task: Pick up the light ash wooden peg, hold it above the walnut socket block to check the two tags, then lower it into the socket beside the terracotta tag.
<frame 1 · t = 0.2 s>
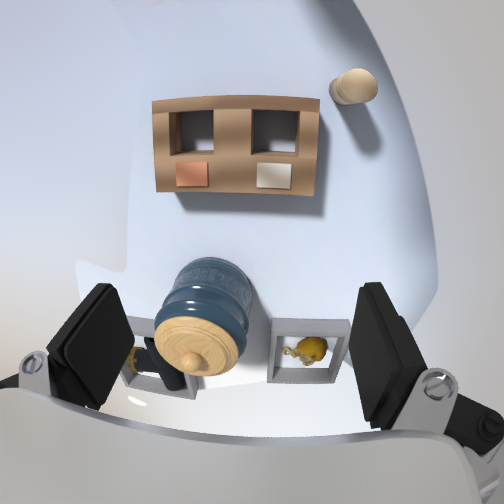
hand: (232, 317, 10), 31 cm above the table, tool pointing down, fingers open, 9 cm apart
pipe connector: (156, 352, 57), on the table
fruit corral: (305, 347, 52), on the table
socket block: (237, 140, 36), on the table
canister: (214, 288, 47), on the table
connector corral: (153, 353, 57), on the table
peg: (343, 91, 31), on the table
fruit: (303, 347, 53), on the table
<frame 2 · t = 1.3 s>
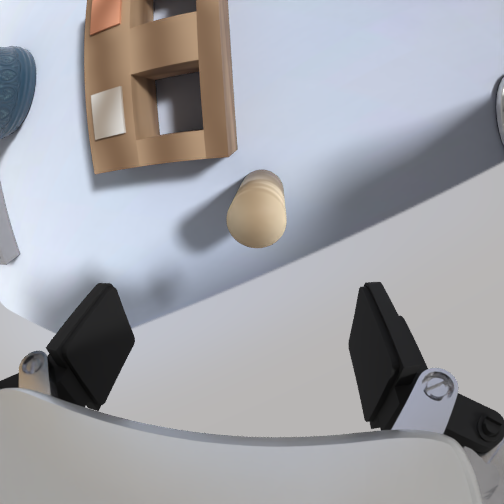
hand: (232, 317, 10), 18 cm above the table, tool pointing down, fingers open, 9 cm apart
socket block: (166, 56, 20), on the table
canister: (11, 91, 21), on the table
peg: (261, 190, 26), on the table
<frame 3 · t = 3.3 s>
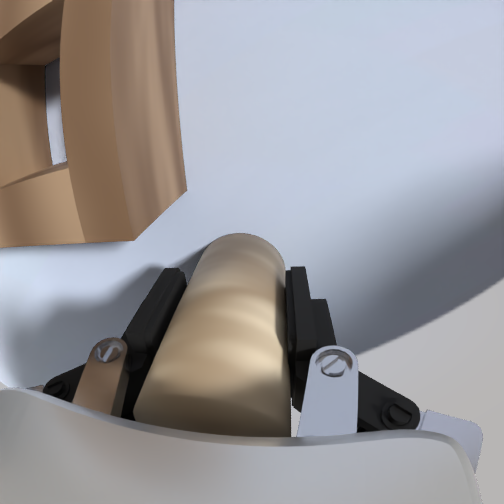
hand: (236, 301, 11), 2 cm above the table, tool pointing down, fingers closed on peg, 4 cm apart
socket block: (64, 20, 7), on the table
peg: (241, 273, 13), on the table, touching gripper
when the fingers open (6 cm above the table, at t = 10.7 s): peg drops 4 cm, on the table.
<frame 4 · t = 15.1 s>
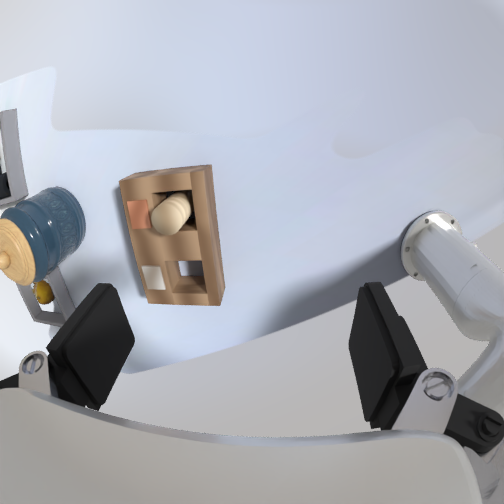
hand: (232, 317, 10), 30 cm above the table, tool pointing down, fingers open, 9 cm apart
pipe connector: (0, 171, 39), on the table
fruit corral: (48, 292, 51), on the table
socket block: (180, 232, 42), on the table
canister: (62, 218, 43), on the table
peg: (185, 200, 40), on the table
fruit: (41, 284, 51), on the table
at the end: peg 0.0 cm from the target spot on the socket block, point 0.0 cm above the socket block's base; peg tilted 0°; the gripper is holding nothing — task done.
